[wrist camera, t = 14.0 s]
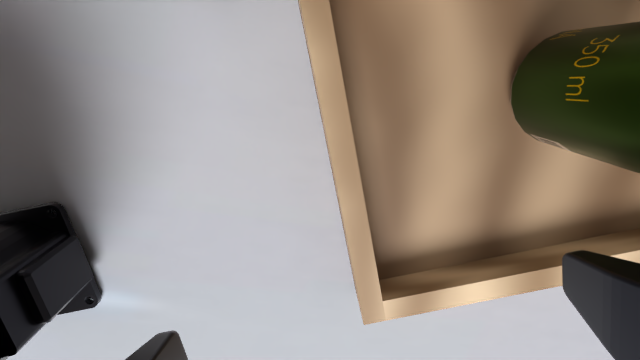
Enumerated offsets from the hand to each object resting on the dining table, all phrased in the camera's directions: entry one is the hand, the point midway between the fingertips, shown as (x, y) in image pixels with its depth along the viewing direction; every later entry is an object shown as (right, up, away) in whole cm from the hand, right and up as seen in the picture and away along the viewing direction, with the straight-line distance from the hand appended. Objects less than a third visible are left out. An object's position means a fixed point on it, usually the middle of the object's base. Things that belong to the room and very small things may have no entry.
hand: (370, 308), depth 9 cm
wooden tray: (+8, +6, +12) cm, 16 cm away
